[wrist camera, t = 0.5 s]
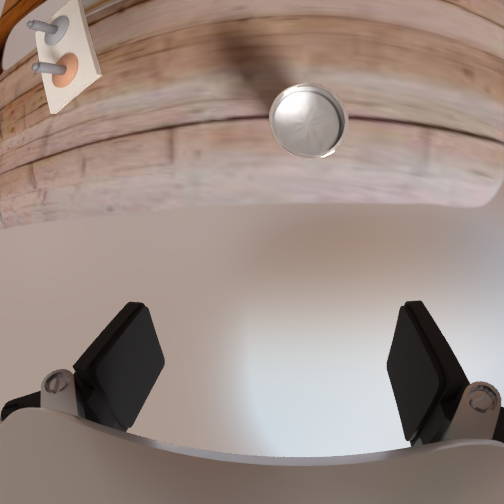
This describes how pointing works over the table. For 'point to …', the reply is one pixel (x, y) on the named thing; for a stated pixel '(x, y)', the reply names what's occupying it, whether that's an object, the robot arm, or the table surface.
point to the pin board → (65, 54)
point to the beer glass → (308, 121)
